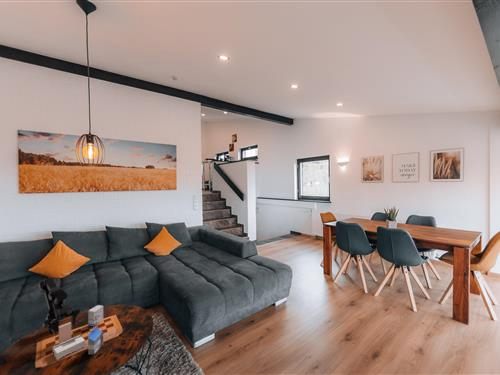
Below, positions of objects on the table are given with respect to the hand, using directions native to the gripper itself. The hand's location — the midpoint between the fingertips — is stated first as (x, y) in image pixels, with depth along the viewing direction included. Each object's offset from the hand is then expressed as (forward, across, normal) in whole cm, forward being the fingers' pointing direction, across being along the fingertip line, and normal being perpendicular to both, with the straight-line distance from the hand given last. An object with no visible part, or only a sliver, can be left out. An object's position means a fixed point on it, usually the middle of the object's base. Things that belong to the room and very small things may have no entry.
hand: (65, 330), depth 148 cm
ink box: (0, +20, +13) cm, 24 cm away
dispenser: (+11, 0, +2) cm, 11 cm away
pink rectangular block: (+6, 0, +7) cm, 9 cm away
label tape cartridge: (+20, +10, -7) cm, 24 cm away
